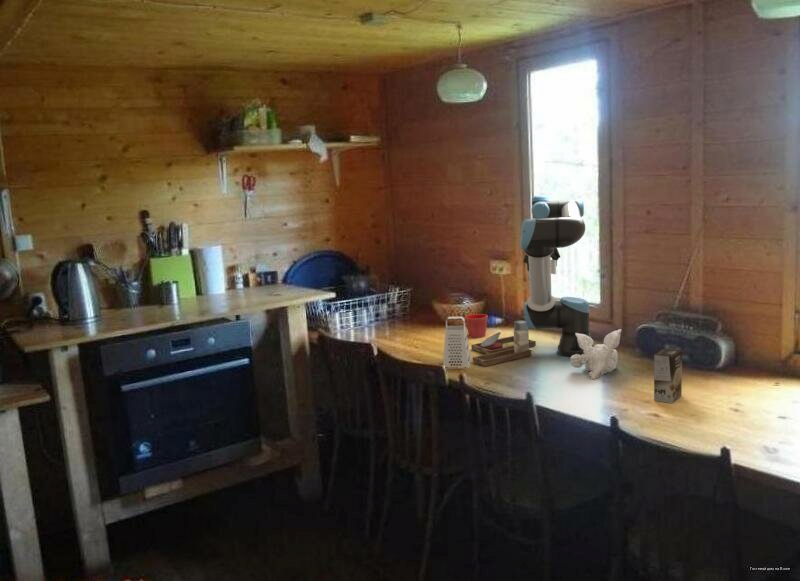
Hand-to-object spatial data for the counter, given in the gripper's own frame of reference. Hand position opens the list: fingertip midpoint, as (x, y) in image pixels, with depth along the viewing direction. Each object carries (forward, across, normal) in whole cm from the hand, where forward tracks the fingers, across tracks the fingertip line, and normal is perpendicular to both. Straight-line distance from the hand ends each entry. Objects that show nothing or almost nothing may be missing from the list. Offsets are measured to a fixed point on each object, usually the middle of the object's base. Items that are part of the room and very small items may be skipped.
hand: (542, 276), depth 332 cm
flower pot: (+29, +21, -24) cm, 43 cm away
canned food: (+29, +33, +3) cm, 44 cm away
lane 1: (+28, +27, +3) cm, 39 cm away
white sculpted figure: (+28, +24, +56) cm, 67 cm away
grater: (+28, +57, +10) cm, 64 cm away
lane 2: (+28, +39, +17) cm, 51 cm away
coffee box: (+28, +29, +92) cm, 101 cm away
